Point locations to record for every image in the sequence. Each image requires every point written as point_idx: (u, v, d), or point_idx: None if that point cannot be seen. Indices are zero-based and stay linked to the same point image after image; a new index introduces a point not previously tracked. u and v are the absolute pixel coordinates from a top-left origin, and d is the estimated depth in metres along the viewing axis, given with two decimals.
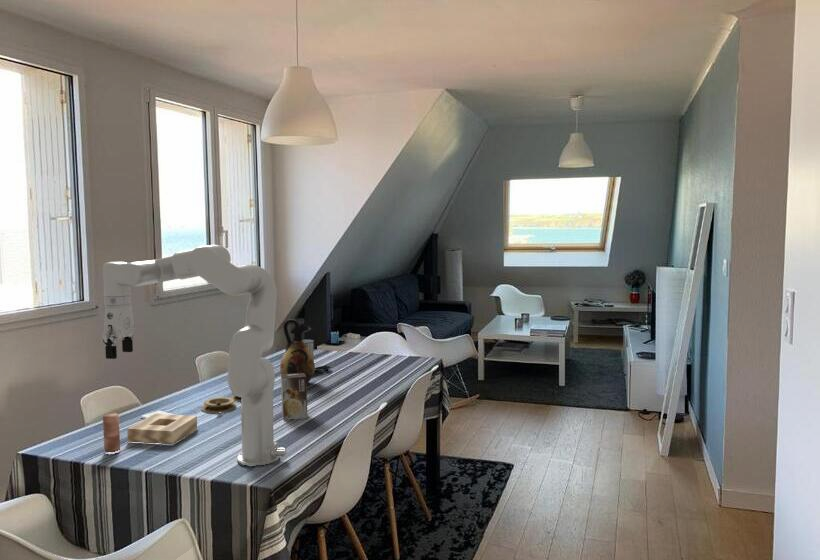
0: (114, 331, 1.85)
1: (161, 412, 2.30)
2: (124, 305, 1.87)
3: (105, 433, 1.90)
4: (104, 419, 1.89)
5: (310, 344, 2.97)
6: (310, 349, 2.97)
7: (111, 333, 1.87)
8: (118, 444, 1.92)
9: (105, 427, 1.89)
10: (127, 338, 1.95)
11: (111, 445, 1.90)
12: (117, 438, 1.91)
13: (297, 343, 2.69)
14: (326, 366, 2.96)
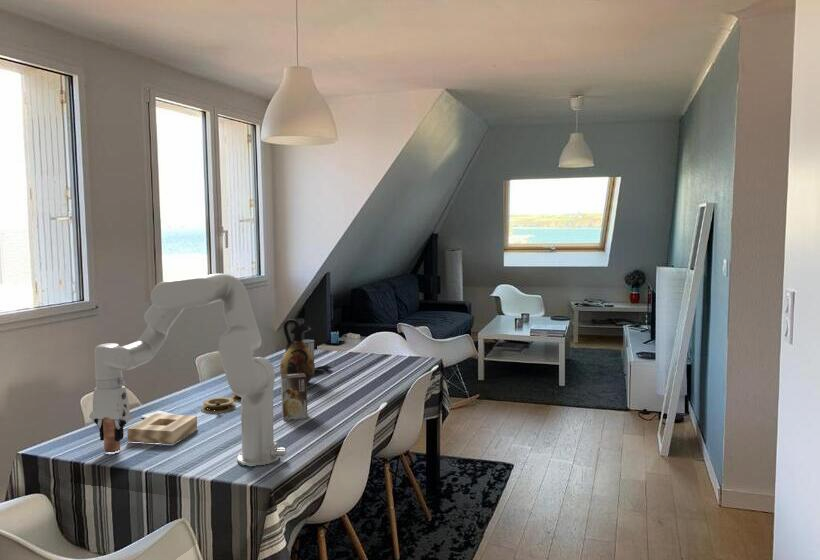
0: (127, 409, 1.92)
1: (161, 412, 2.30)
2: None
3: (105, 433, 1.90)
4: (104, 419, 1.89)
5: (311, 344, 2.97)
6: (311, 349, 2.97)
7: None
8: (118, 444, 1.92)
9: (105, 427, 1.89)
10: None
11: (111, 445, 1.90)
12: None
13: (297, 343, 2.69)
14: (326, 366, 2.96)
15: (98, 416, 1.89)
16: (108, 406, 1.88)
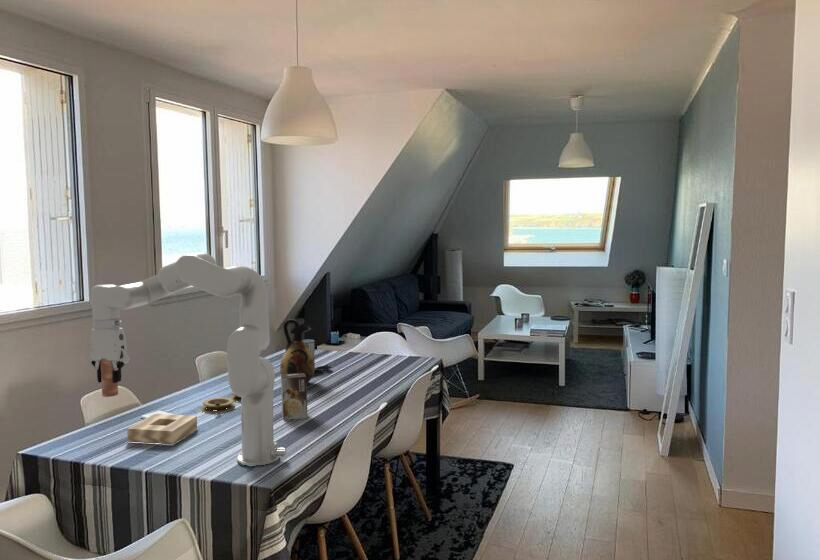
0: (125, 351, 1.90)
1: (161, 412, 2.30)
2: None
3: (103, 374, 1.88)
4: (101, 360, 1.87)
5: (311, 344, 2.97)
6: (311, 349, 2.97)
7: None
8: (116, 386, 1.90)
9: (103, 368, 1.88)
10: None
11: (109, 386, 1.88)
12: None
13: (297, 343, 2.69)
14: (327, 366, 2.96)
15: (96, 357, 1.88)
16: (105, 347, 1.86)
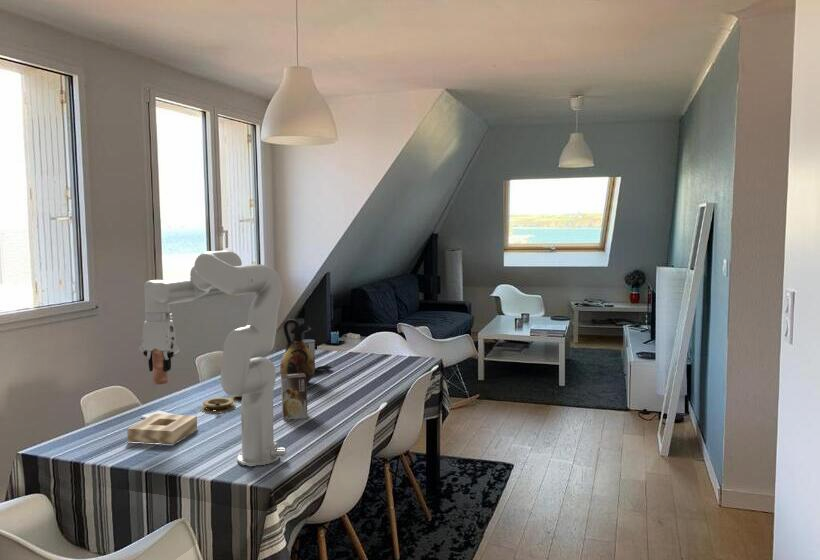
0: (175, 342, 2.04)
1: (161, 412, 2.30)
2: None
3: (154, 364, 2.02)
4: (153, 350, 2.02)
5: (311, 344, 2.97)
6: (311, 349, 2.97)
7: None
8: (166, 375, 2.04)
9: (154, 358, 2.02)
10: None
11: (160, 375, 2.02)
12: None
13: (297, 343, 2.69)
14: (327, 366, 2.96)
15: (148, 348, 2.02)
16: (157, 338, 2.01)
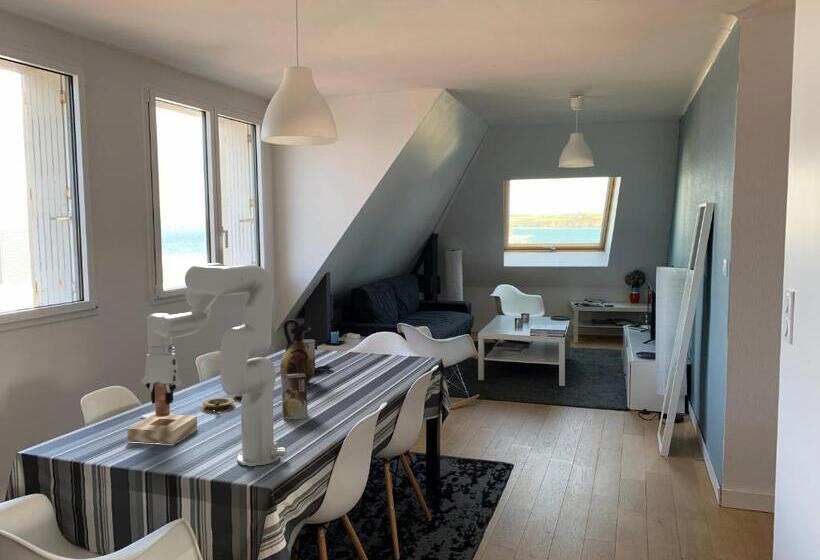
0: (177, 374, 2.05)
1: None
2: None
3: (157, 396, 2.03)
4: (156, 383, 2.03)
5: (311, 344, 2.97)
6: (311, 349, 2.97)
7: None
8: (168, 407, 2.05)
9: (157, 391, 2.03)
10: None
11: (162, 407, 2.04)
12: None
13: (297, 343, 2.69)
14: (327, 366, 2.96)
15: (150, 380, 2.03)
16: (160, 371, 2.02)
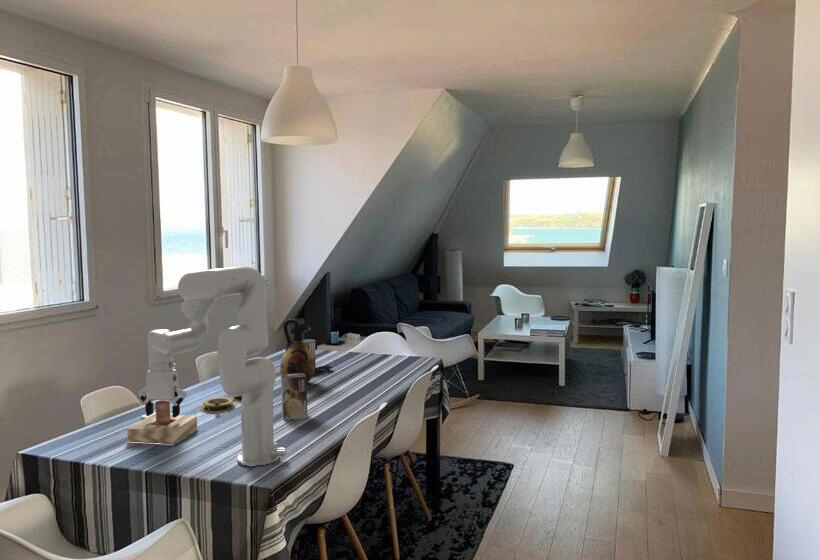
0: None
1: None
2: None
3: (158, 418, 2.04)
4: (157, 405, 2.04)
5: (312, 344, 2.97)
6: (312, 349, 2.98)
7: None
8: None
9: (158, 413, 2.04)
10: (150, 402, 2.07)
11: None
12: (168, 423, 2.06)
13: (297, 343, 2.69)
14: (327, 366, 2.96)
15: (151, 397, 2.04)
16: (160, 387, 2.02)
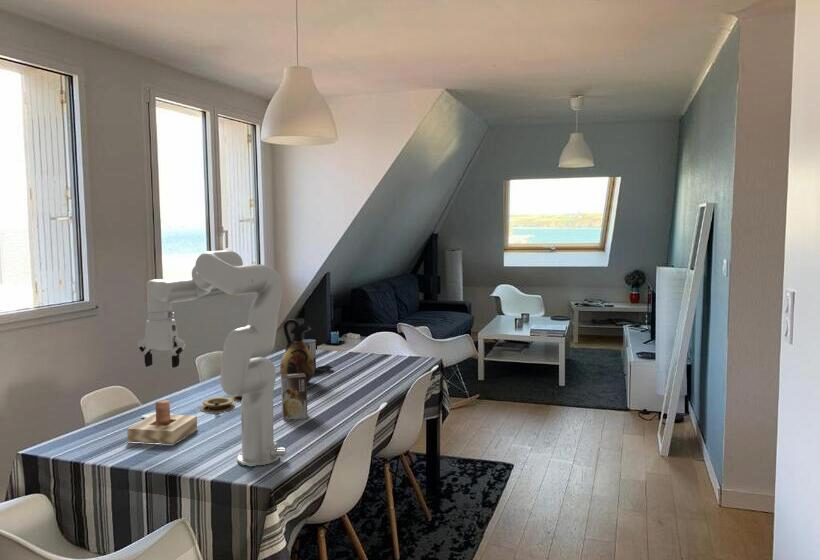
0: None
1: None
2: None
3: (158, 418, 2.04)
4: (157, 405, 2.04)
5: (312, 344, 2.97)
6: (312, 349, 2.98)
7: None
8: None
9: (158, 413, 2.04)
10: (149, 352, 2.05)
11: None
12: (168, 423, 2.06)
13: (297, 343, 2.69)
14: (328, 366, 2.96)
15: (150, 347, 2.02)
16: (160, 337, 2.01)
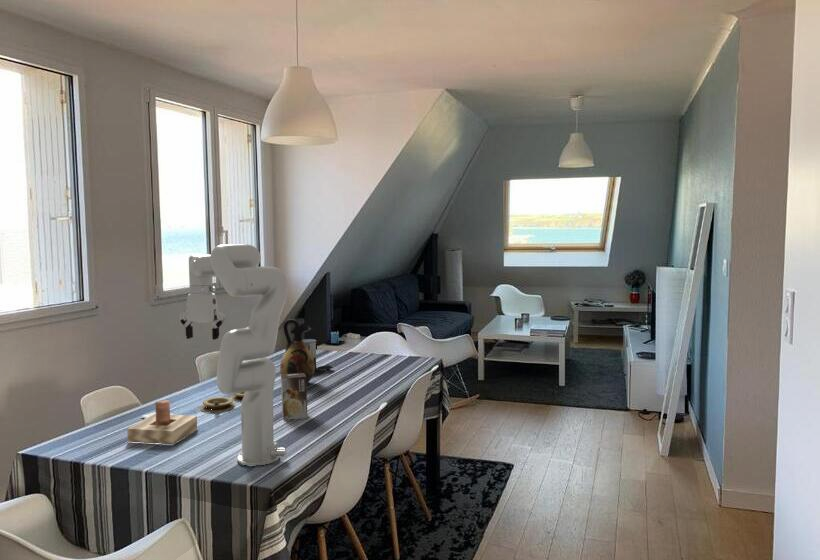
0: None
1: None
2: None
3: (157, 418, 2.04)
4: (157, 405, 2.04)
5: (312, 344, 2.98)
6: (312, 349, 2.98)
7: None
8: None
9: (158, 413, 2.04)
10: (190, 325, 2.13)
11: None
12: (168, 423, 2.06)
13: (297, 343, 2.69)
14: (328, 366, 2.96)
15: (191, 319, 2.10)
16: (201, 310, 2.08)
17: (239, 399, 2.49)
